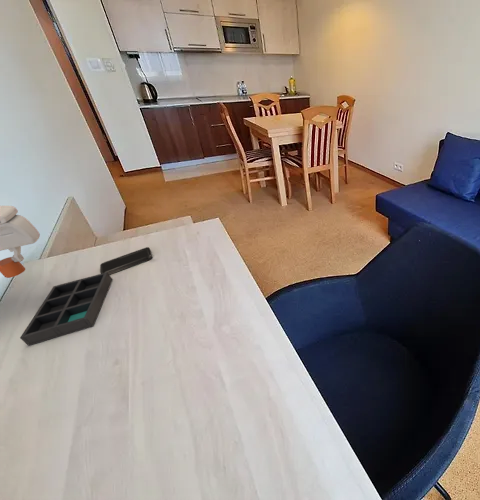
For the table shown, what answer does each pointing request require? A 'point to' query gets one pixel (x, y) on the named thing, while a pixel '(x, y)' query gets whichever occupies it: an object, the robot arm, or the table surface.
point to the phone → (126, 261)
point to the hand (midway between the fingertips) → (7, 263)
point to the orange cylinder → (10, 268)
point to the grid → (68, 309)
